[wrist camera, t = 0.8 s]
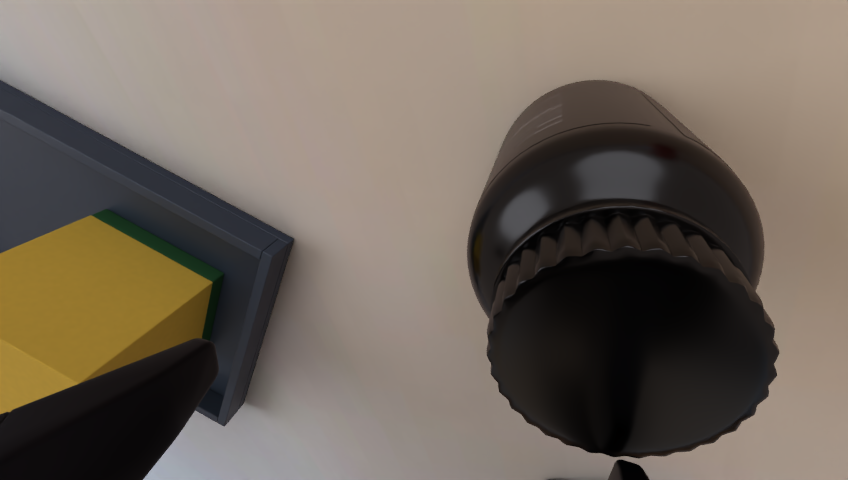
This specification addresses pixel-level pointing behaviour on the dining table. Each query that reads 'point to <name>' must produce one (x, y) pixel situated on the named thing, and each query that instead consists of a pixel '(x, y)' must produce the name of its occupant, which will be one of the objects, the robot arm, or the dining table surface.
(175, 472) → the dining table surface
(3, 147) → the tray
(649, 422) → the supplement bottle
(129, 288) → the sponge
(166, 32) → the dining table surface
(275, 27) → the dining table surface
